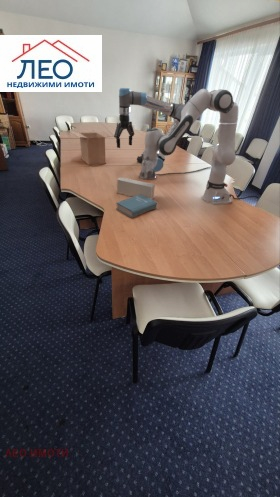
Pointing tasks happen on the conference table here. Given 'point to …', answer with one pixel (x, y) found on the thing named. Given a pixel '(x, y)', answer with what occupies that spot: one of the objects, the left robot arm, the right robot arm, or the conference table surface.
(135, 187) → the long box
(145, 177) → the right robot arm
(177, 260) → the conference table surface
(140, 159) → the laser sight
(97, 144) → the box
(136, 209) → the book
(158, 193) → the conference table surface
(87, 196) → the conference table surface
